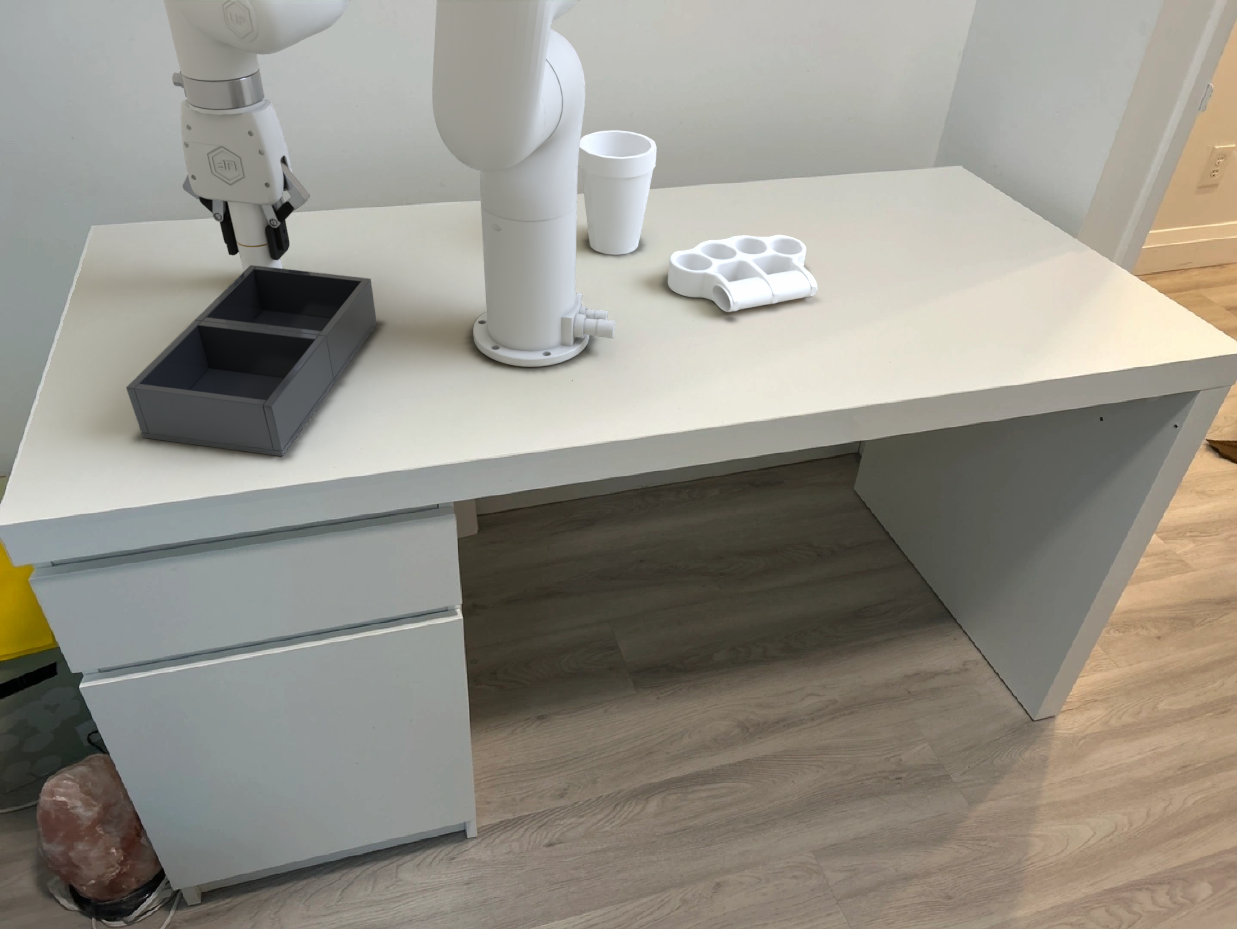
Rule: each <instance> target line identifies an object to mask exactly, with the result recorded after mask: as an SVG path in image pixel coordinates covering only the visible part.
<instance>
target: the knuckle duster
mask: <svg viewBox="0 0 1237 929" xmlns="http://www.w3.org/2000/svg"><path fill="white" fill-rule="evenodd" d="M806 254H807V246H806V245H805V243H804V242H802V240H800V239H798V238H796V237H793V236H790V235H785V234H774V235H769V236H755V235H750V234H749V235H748V234H746V235H743V234H742V235H732V236H730V237H727V238H723V239H708V240H704V241H702V242H699V243H698V244H697V245H696V246H695V247H692V248H690V249H685V250H676V251H674V252H673V253H671V255H670V257H669V261H668V270H667V271H668V273H667V285H668V287H669V289H670V290H671V291H672V292H675V293H676V294H678V295H681V296H684V297H688V298H704V299H706V300H710V301H713V302H714V303H715V304H716V306H718V308H719V309H720V310H722V311H723V312H726V313H730V312H731V313H732V312H737V311H739V310H744V309H745V310H746V309H751V308H755V307H761V306H765V305H773V304H777V303H781V302H787V301H792V300H793V301H794V300H797V299H804V298H808V297H809V298H810V297H814V296H816V295H817V293H818V288H819V287H818V282H817V281H816V278H815V277H814V275H813V274H812V273H811V272H810V271H809V270H808V269H807V268H806V267H805V266H804V265H805V260H806Z"/></svg>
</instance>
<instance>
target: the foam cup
mask: <svg viewBox="0 0 1237 929" xmlns="http://www.w3.org/2000/svg"><path fill="white" fill-rule="evenodd" d="M656 144H657V143H656V141H655V140H654V139H652V138H651V137H649V136H647V135H645V134H641V133H638V132H635V131H627V130H616V129H614V130H613V129H612V130H600V131H599V130H598V131H595V132H592V133H591V132H590V133H588V134H585V135H583V137H581V138H580V147H579V158H578V166H579V167H580V172H581V181H582V189H583V198H584V207H585V215H586V225H587V232H588V240H589V246H590V248H592V250H594V251H595V252H598V253H601V254H604V255H613V256H619V255H627V254H630V253H632V252H634V251H636V249H637V248H638V247H639V242H640V239H641V234H642V229H643V225H644V219H645V214H646V209H647V205H648V198H649V193H650V188H651V183H652V178H653V173H654V169H655V168H656V164H657V148H658V147H657V145H656Z"/></svg>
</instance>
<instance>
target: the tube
mask: <svg viewBox="0 0 1237 929" xmlns="http://www.w3.org/2000/svg"><path fill="white" fill-rule="evenodd" d="M227 202H228V201H227ZM228 206H229V211H230V215H231V219H232V224H233V228H234V233H235V237H236V242H237V246H238V251H239V252H238V254H239V259H240V263H241V268H242V273H243V272H244V271H245V270H246V269H247V268H248V267H249V266H250V265H254V266H264V267H273V268H281V269H283V265H282V260H281V258H280V259H279V260H273V259H272V258H271V257H270V252H269V247H268V242H267V237H266V232H265V228H266V227H267V226H268V225H269V223H268V221H267V218H266V216H265V214H264V211H263V209H262V207H261V205H257V204H247V203H238V202H228Z"/></svg>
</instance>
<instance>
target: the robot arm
mask: <svg viewBox="0 0 1237 929" xmlns="http://www.w3.org/2000/svg"><path fill="white" fill-rule="evenodd" d="M580 1H581V0H436V9H435V23H434V24H435V26H434V42H433V43H434V44H433V45H434V46H433V63H432V65H433V66H432V82H431V83H432V84H431V85H432V86H431V93H432V94H431V97H432V98H431V99H432V102H431V103H432V112H433V118H434V122H435V126H436V129H437V131H438V134H439V136H440V138H441V141H442V142H443V144H444V146H445V147H446V148H447V150H448V151H449V152H450V154H451V155H452V156H453V157H454V158H456V160H458V161H459V162H460V163H461V164H462V165H464V166H466V167H468V168H470V169H473V170H475V171H479V184H480V185H479V188H480V189H479V190H480V191H479V192H480V214H481V215H480V216H481V233H482V248H483V249H482V252H483V269H484V271H483V272H484V288H485V290H484V291H485V308H486V310H485V312H484V313H482V314H480V316H479V317H478V318H476V320H475V322H474V324H473V328H472V329H473V330H472V335H473V342H474V344H475V346H476V348H477V349H478V350H479V351H480V352H481V353H482V354H483V355H485V356H486V357H488V358H490V359H492V360H494V361H497V362H500V363H502V364H506V365H511V366H515V367H525V368H534V367H535V368H536V367H546V366H547V367H548V366H552V365H556V364H560V363H563V362H566V361H568V360H571V359H573V358H574V357H576V356H577V355H579V354H580V353H581V352H583V350H585V348H586V346H588V343H589V340H590V336H592V337H597V338H602V339H614V337H615V333H616V320H613V319H609V311H608V310H605V309H598V308H596V309H592V308H588V307H587V306H586V305H583V293H582V292H576V291H577V223H578V222H577V221H578V220H577V218H578V217H577V214H578V212H577V211H578V210H577V209H578V205H577V204H578V180H579V179H578V176H579V175H578V174H579V160H578V158H579V147H580V139H581V138H582V129H583V123H584V116H585V105H586V78H585V72H584V68H583V65H582V62H581V59H580V58H579V55H578V53H577V51H576V50H575V48H574V46H573V45H572V44H571V42H570V41H568V39H566V37H565V36H564V35H562V34H560V32H558V31H556V30H555V29H552V28H551V27H552V23H554V22H556V21H557V20H559V19H560V18H562V17H563V16H564V15H566V14H567V13H569V12H570V11H571V10H572V9H573V8H575V6H576V5H577V4H579V2H580ZM350 2H351V0H163V3H164V7H165V11H166V15H167V19H168V23H169V27H170V32H171V36H172V41H173V44H174V49H175V54H176V59H177V61H178V66H179V70H180V71H179V72H174V73H173V74H172V77H171V78H172V79H171V80H172V84H173V85H174V86H175V87H180V88H182V89H183V90H184V96H185V98H186V99H184V100H183V101H182V102H181V103H180V131H181V141H182V149H183V155H184V160H185V161H184V163H185V167H186V172H187V175H186V177H185V179H184V182H183V183H182V189H183V190H184V191H185V192H186V193H188V194H189V195H190V196H192V197H194V198H195V199H196V200H199V202H200V203H201V205H202V206H204V207H205V209H207V210H208V211H209V212H210V213H211V214H212V217H213V220H215V222H218V223H219V226H220V230H221V234H222V238H223V242H224V244H225V245H226V249H227V253H228V255H229V256H236V255H237V254H239V251H238V246H237V242H236V237H235V233H234V228H233V224H232V219H231V215H230V211H229V206H228V202H238V203H247V204H257V205H261V207H262V209H263V211H264V214H265V216H266V218H267V221H268V223H269V225H268V226H267V227H266V228H265V232H266V237H267V242H268V247H269V252H270V257H271V258H272V259H273V260H279V259H281V258H282V257H283V256H284V255H285V254H286V253H287V252H288V250H289V248H290V245H291V244H290V238H289V232H288V226H287V221H286V220H287V218H289V217H290V215H291V214H292V213H293V212H294V211H296V210H297V209H299V208H300V207H302V206H303V205H304V204H306V203H307V202H308V201H309V200H310V199H311V195H310V192H308V190H307V189H306V188H305V187H304V185H303V184H302V183H301V181H300V180H299V179H298V178H297V177H296V176H295V174H294V173H293V167H292V164H291V158H290V154H289V149H288V146H287V141H286V138H285V135H284V132H283V129H282V126H281V122H280V120H279V117H278V114H277V113H276V110H275V108H274V105H273V103H272V101H271V99H267V98H266V96H265V91H264V86H263V80H262V74H261V70H260V65H259V60H258V55H271V54H275V53H278V52H281V51H283V50H285V49H288V48H290V47H292V46H294V45H296V44H298V43H300V42H302V41H304V40H306V39H308V38H310V37H313V36H315V35H317V34H320V33H322V32H323V31H326V30H328V29H329V28H331V27H332V26H333V25H335V24H336V23H337V21H338V20H339V19H340V18H341V17H342V16H343V14H344V13H345V12H346V10H347V8H348V6H349V4H350ZM284 192H287V193H288V194H289V195H290V197H289V198H288V199H286V201H285V200H284V197H283V195H284ZM227 201H228V202H227Z"/></svg>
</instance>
